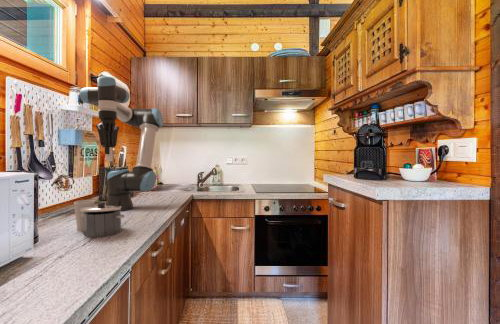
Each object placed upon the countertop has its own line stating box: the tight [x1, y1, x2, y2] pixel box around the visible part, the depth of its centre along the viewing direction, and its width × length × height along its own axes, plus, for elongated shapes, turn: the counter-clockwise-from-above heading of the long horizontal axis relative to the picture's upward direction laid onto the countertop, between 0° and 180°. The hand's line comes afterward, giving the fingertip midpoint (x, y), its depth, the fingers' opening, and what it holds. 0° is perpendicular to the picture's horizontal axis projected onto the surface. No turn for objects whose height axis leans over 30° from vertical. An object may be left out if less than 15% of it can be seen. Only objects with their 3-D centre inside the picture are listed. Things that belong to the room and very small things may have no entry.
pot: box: [81, 209, 125, 239], centre depth 116 cm, size 15×19×10 cm
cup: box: [73, 199, 96, 232], centre depth 122 cm, size 8×8×12 cm
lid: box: [81, 202, 121, 212], centre depth 115 cm, size 16×15×3 cm
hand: (109, 161), depth 131 cm, fingers closed
